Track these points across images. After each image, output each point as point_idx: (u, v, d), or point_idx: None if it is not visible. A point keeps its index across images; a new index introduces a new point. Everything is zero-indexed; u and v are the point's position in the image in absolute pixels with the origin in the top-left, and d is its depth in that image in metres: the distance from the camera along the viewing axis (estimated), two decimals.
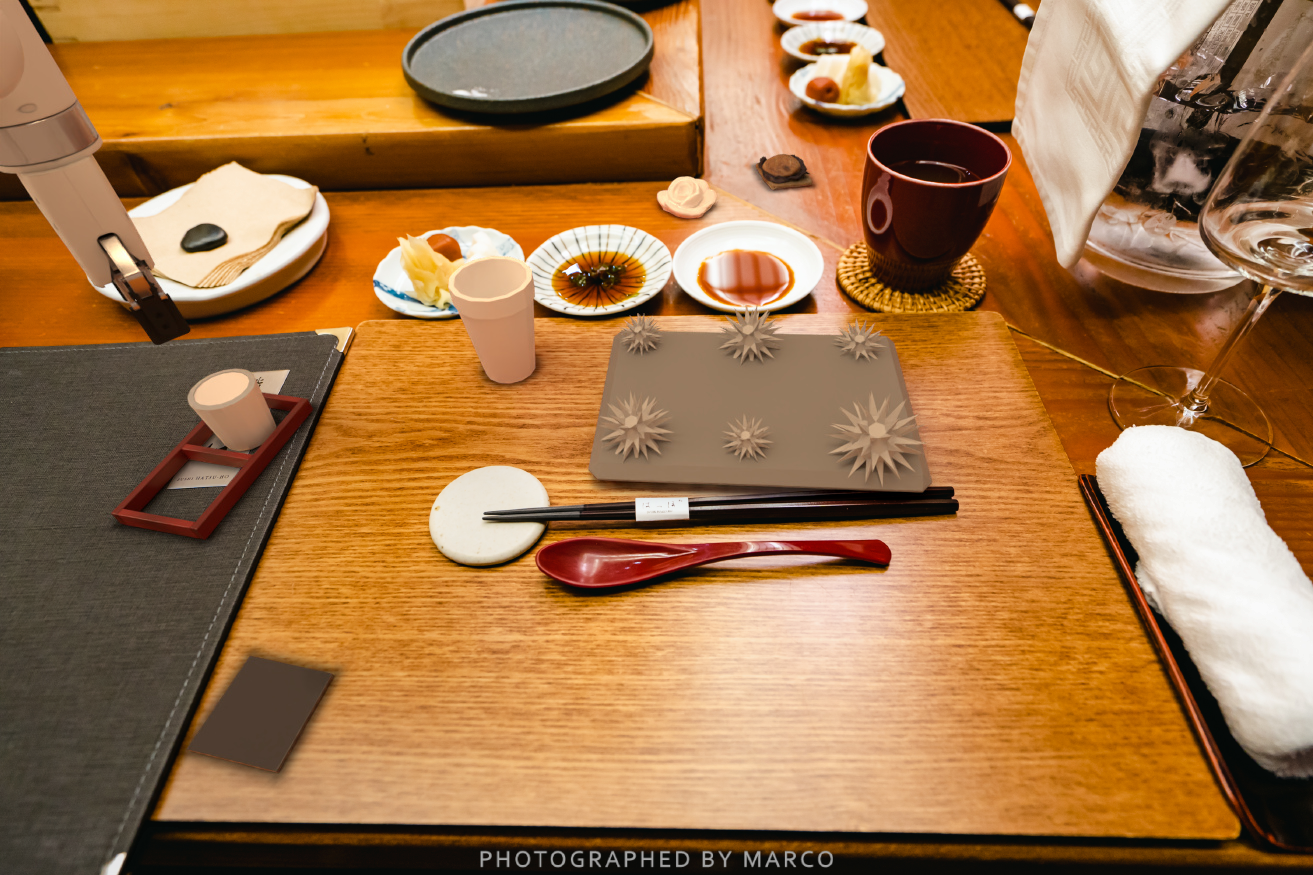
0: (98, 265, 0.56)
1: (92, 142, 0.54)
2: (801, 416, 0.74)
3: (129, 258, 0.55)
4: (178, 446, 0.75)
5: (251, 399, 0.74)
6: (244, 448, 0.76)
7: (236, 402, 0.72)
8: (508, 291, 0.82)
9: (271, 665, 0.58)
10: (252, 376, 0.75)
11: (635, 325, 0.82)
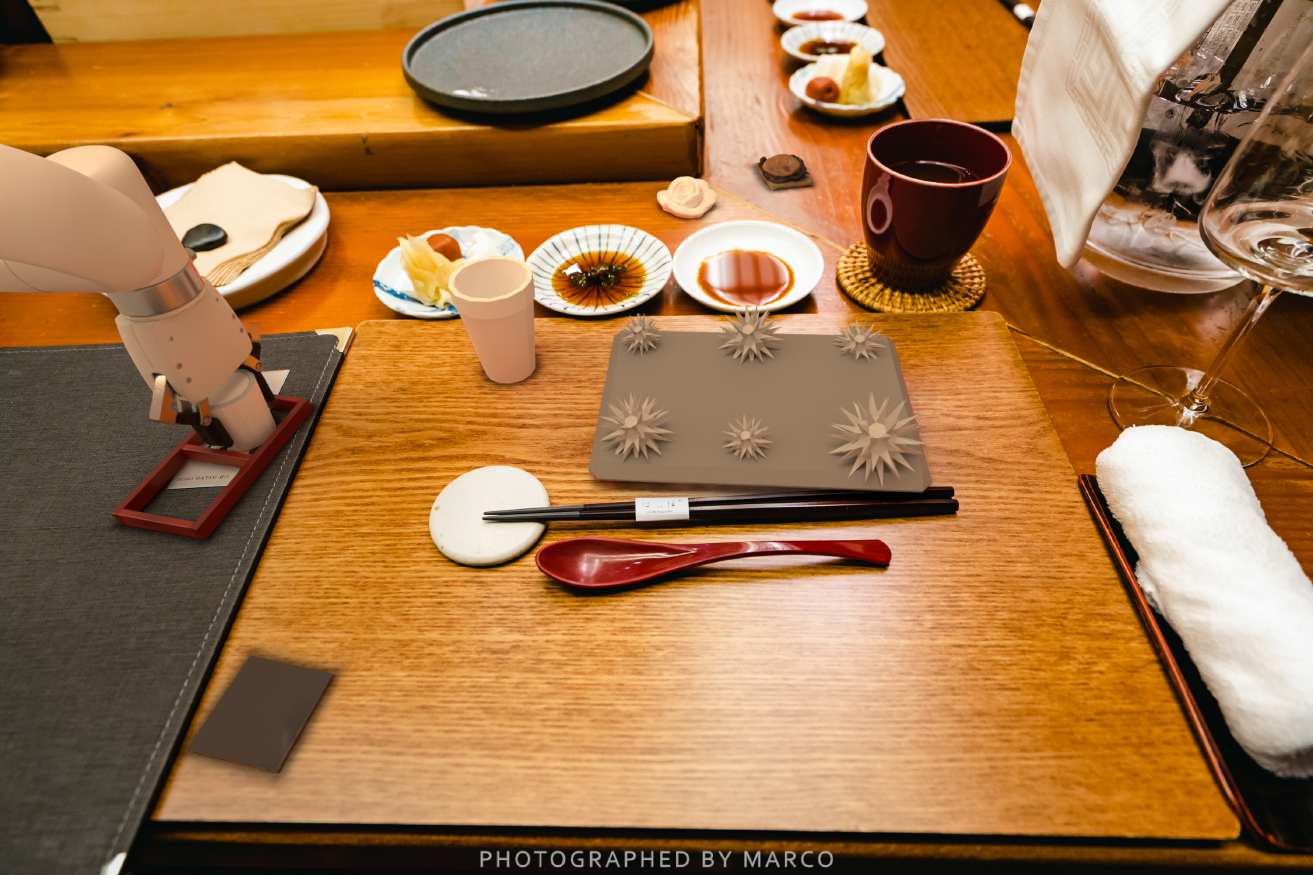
0: (153, 387, 0.67)
1: (169, 310, 0.63)
2: (801, 416, 0.74)
3: (160, 404, 0.66)
4: (178, 446, 0.75)
5: (251, 399, 0.74)
6: (244, 448, 0.76)
7: (236, 402, 0.72)
8: (508, 291, 0.82)
9: (271, 665, 0.58)
10: (252, 376, 0.75)
11: (635, 325, 0.82)
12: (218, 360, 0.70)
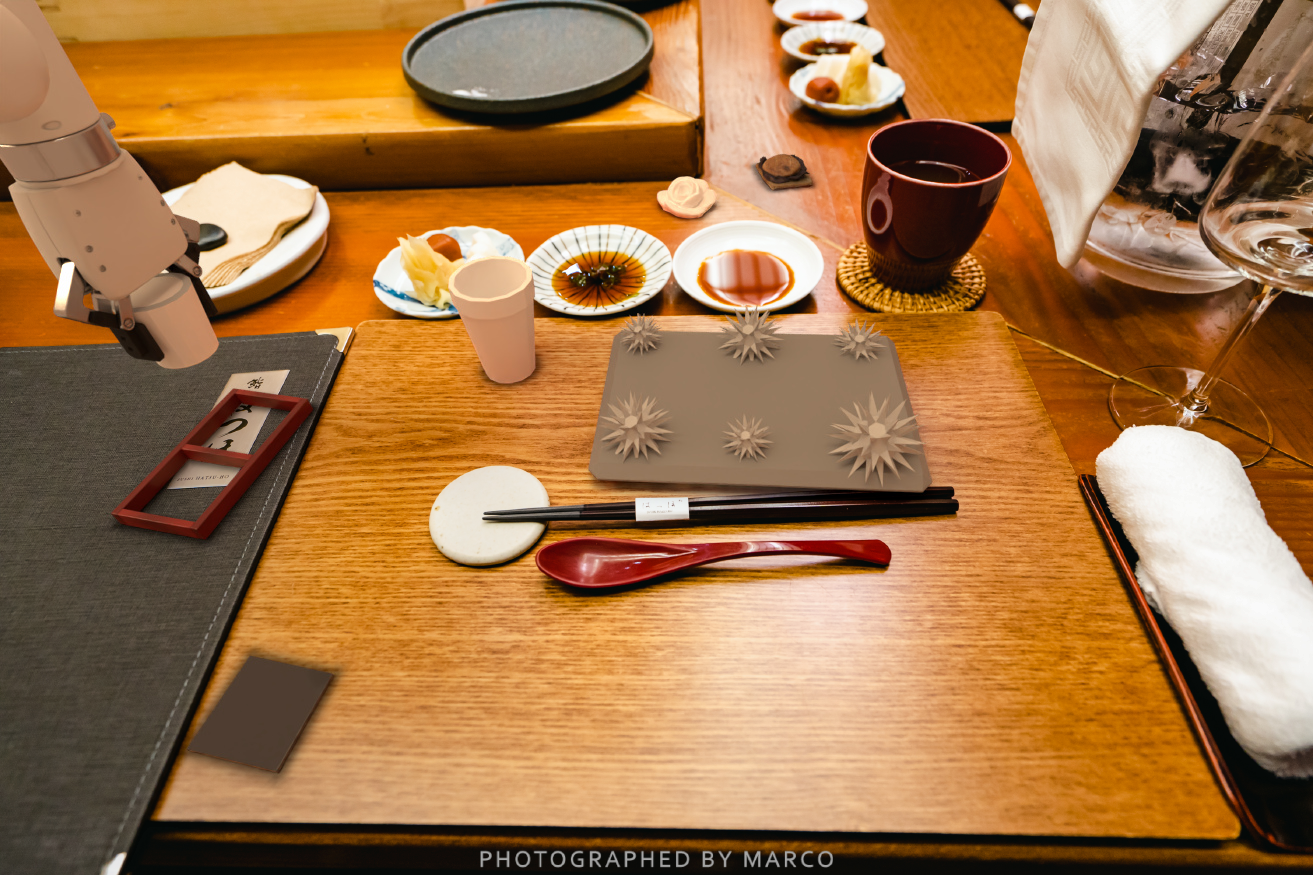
0: None
1: (74, 175, 0.52)
2: (801, 416, 0.74)
3: (67, 295, 0.55)
4: (178, 446, 0.75)
5: (185, 304, 0.63)
6: (179, 366, 0.65)
7: (165, 305, 0.61)
8: (508, 291, 0.82)
9: (271, 665, 0.58)
10: (187, 279, 0.64)
11: (635, 325, 0.82)
12: (142, 251, 0.59)
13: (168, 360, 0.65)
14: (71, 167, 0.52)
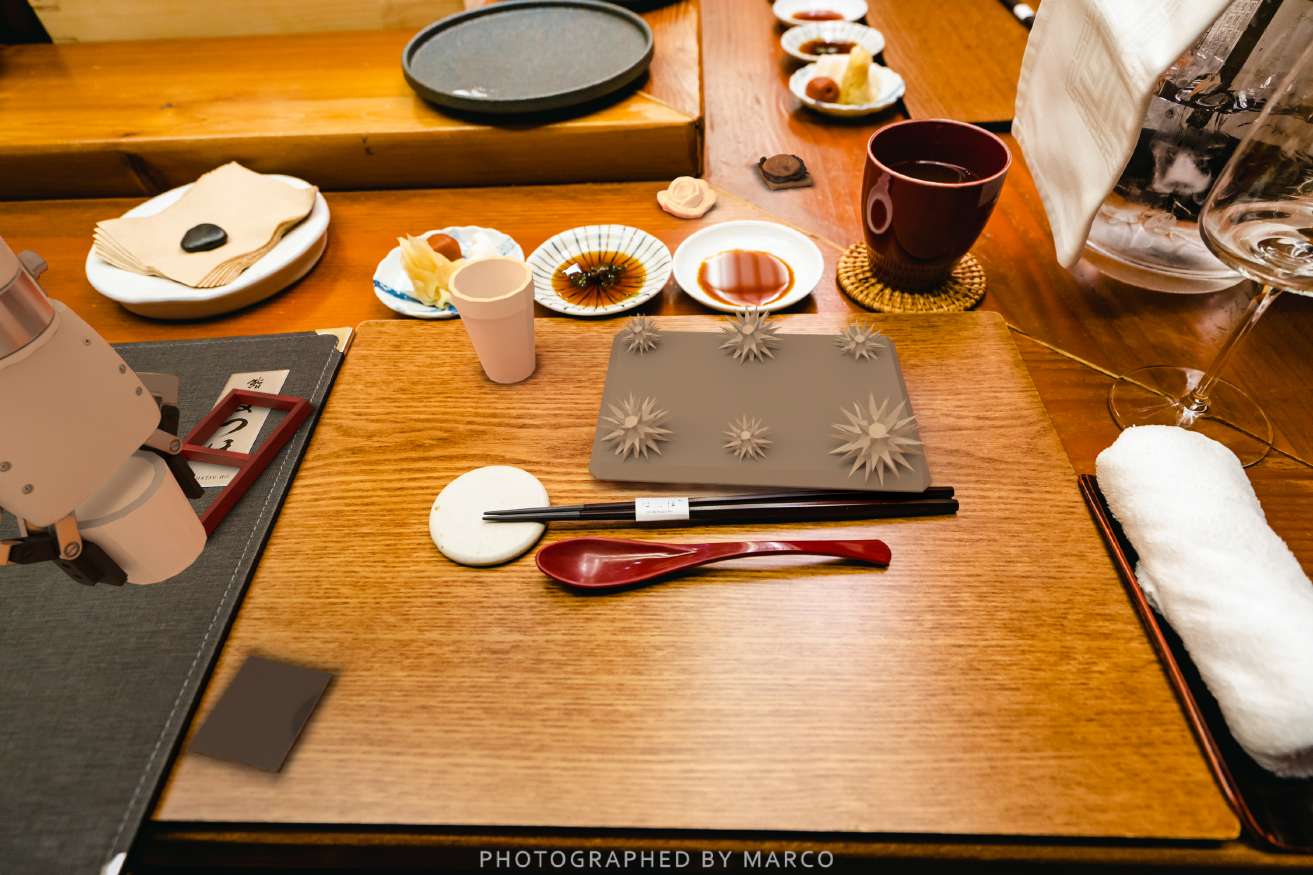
0: None
1: None
2: (801, 416, 0.74)
3: None
4: None
5: (157, 505, 0.44)
6: (150, 581, 0.46)
7: (128, 514, 0.42)
8: (508, 291, 0.82)
9: (271, 665, 0.58)
10: (161, 464, 0.45)
11: (635, 325, 0.82)
12: (91, 447, 0.40)
13: (134, 576, 0.46)
14: None
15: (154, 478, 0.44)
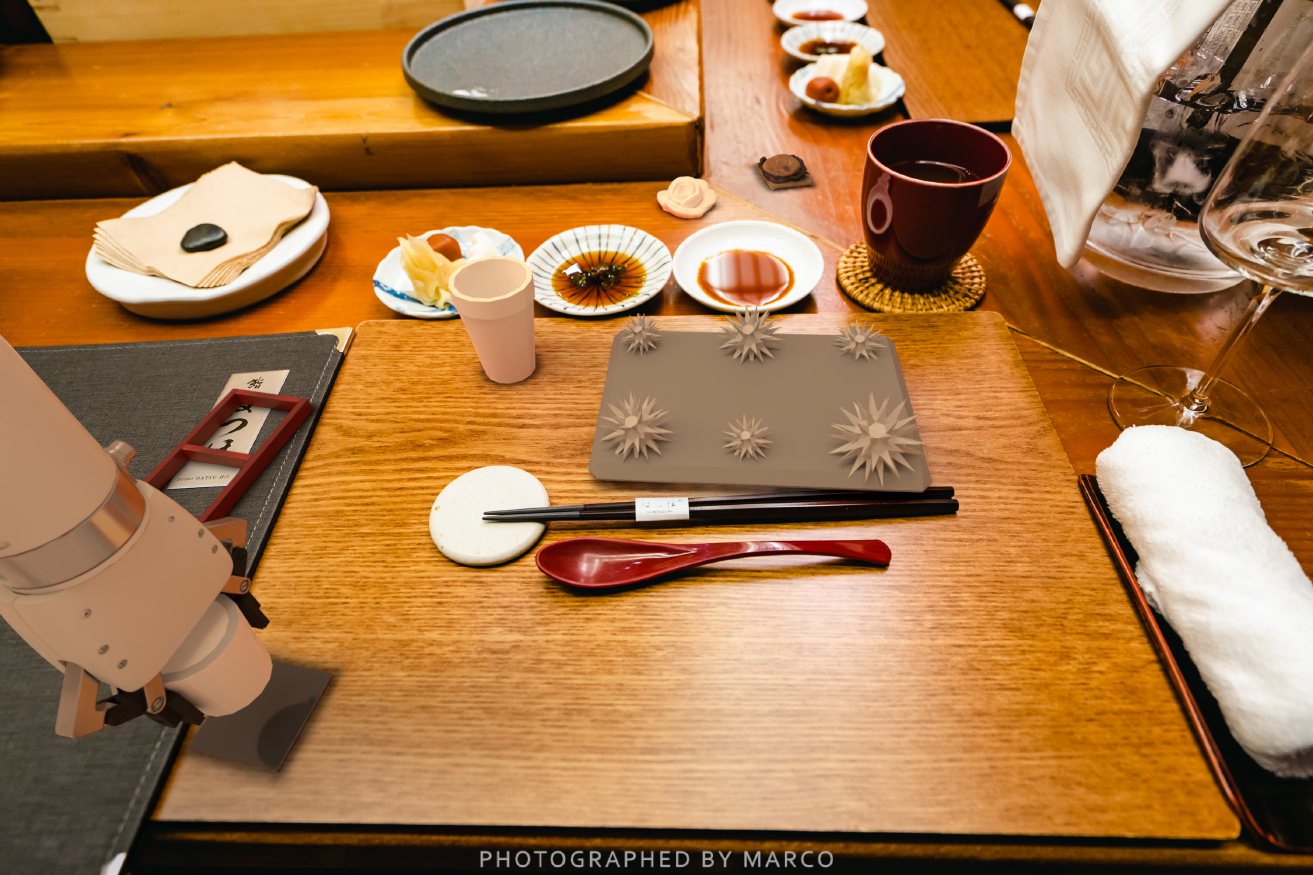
0: None
1: (81, 573, 0.36)
2: (801, 416, 0.74)
3: (74, 710, 0.39)
4: (178, 446, 0.75)
5: (232, 651, 0.47)
6: (223, 713, 0.49)
7: (207, 665, 0.45)
8: (508, 291, 0.82)
9: None
10: (234, 609, 0.48)
11: (635, 325, 0.82)
12: (175, 611, 0.43)
13: (209, 711, 0.49)
14: (76, 565, 0.35)
15: (228, 625, 0.47)
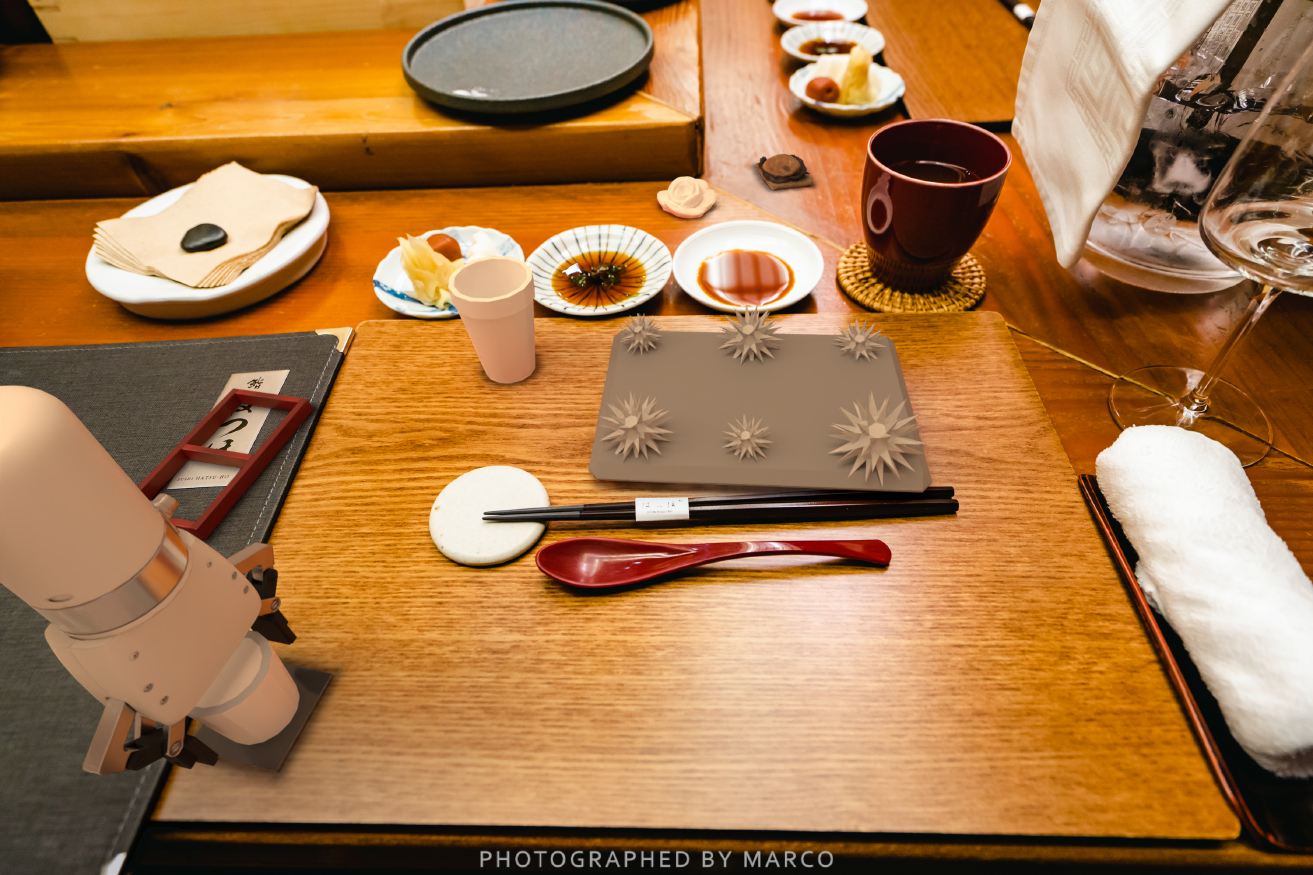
0: None
1: (132, 620, 0.39)
2: (801, 416, 0.74)
3: (106, 745, 0.41)
4: (178, 446, 0.75)
5: (265, 686, 0.50)
6: (255, 742, 0.53)
7: (244, 700, 0.49)
8: (508, 291, 0.82)
9: None
10: (266, 646, 0.52)
11: (635, 325, 0.82)
12: (211, 650, 0.46)
13: (242, 740, 0.52)
14: (128, 613, 0.39)
15: (262, 661, 0.51)
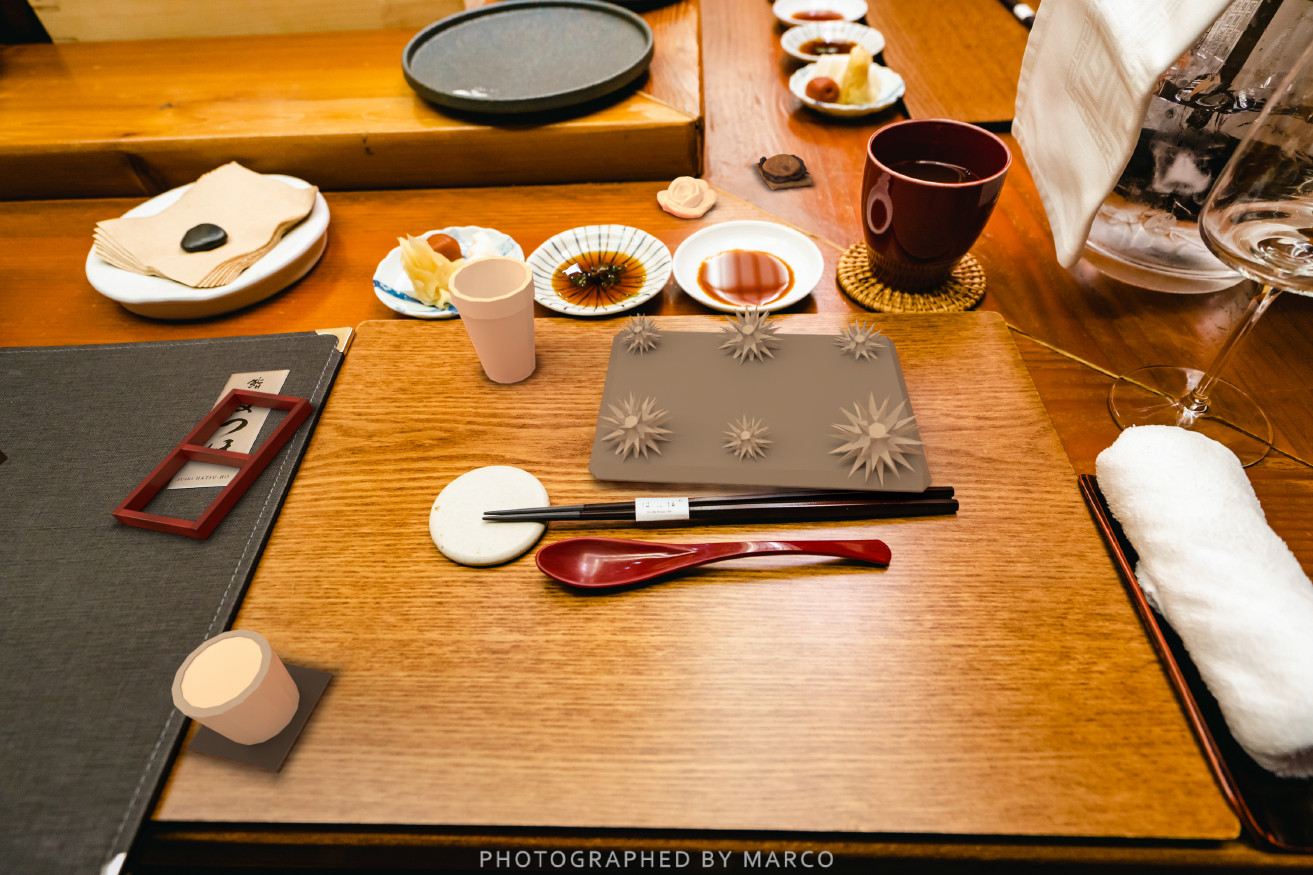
0: None
1: None
2: (801, 416, 0.74)
3: None
4: (178, 446, 0.75)
5: (265, 686, 0.50)
6: (255, 742, 0.53)
7: (243, 700, 0.49)
8: (508, 291, 0.82)
9: None
10: (266, 646, 0.52)
11: (635, 325, 0.82)
12: None
13: (242, 740, 0.52)
14: None
15: (262, 661, 0.51)
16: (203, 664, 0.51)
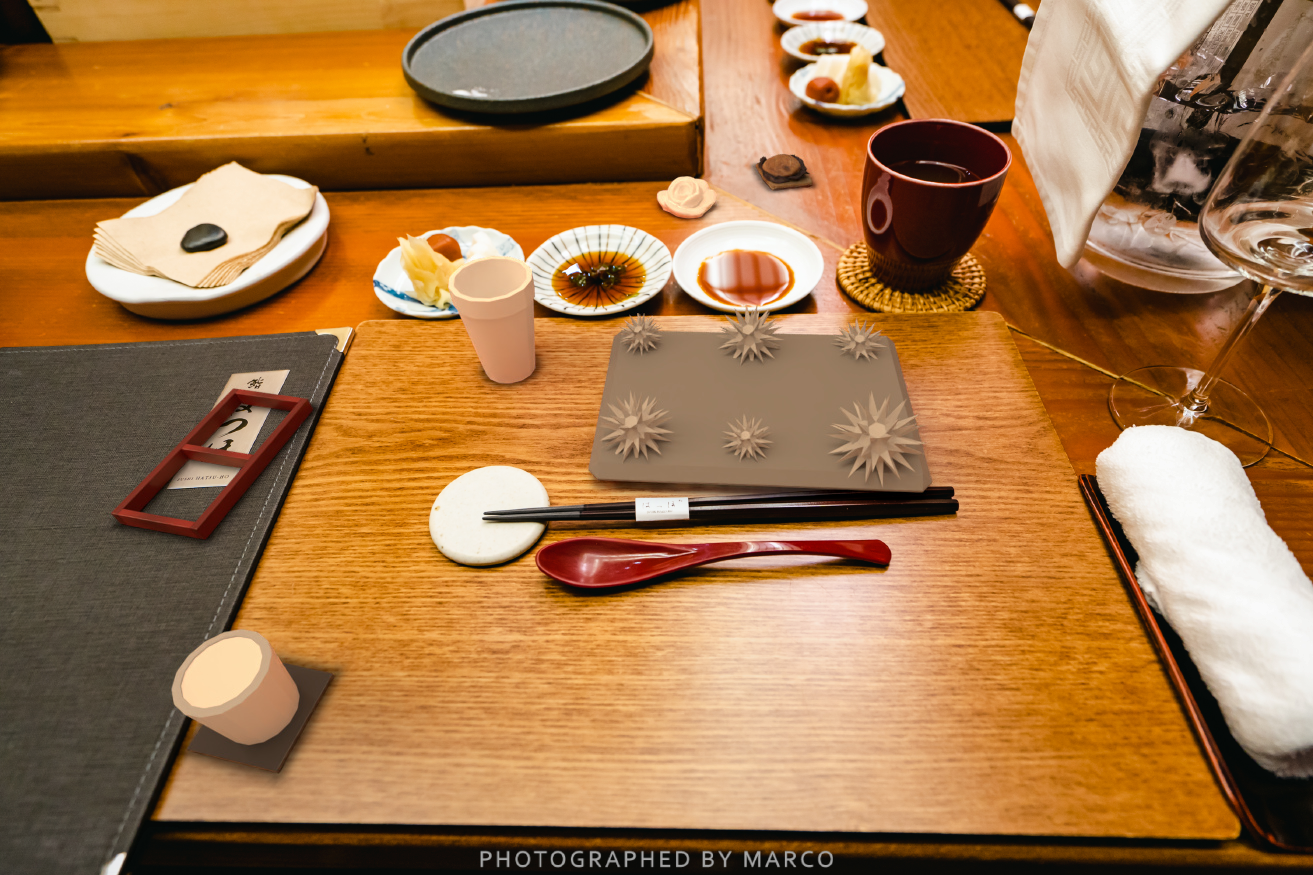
0: None
1: None
2: (801, 416, 0.74)
3: None
4: (178, 446, 0.75)
5: (265, 686, 0.50)
6: (255, 742, 0.53)
7: (243, 700, 0.49)
8: (508, 291, 0.82)
9: None
10: (266, 646, 0.52)
11: (635, 325, 0.82)
12: None
13: (242, 740, 0.52)
14: None
15: (262, 661, 0.51)
16: (203, 664, 0.51)
